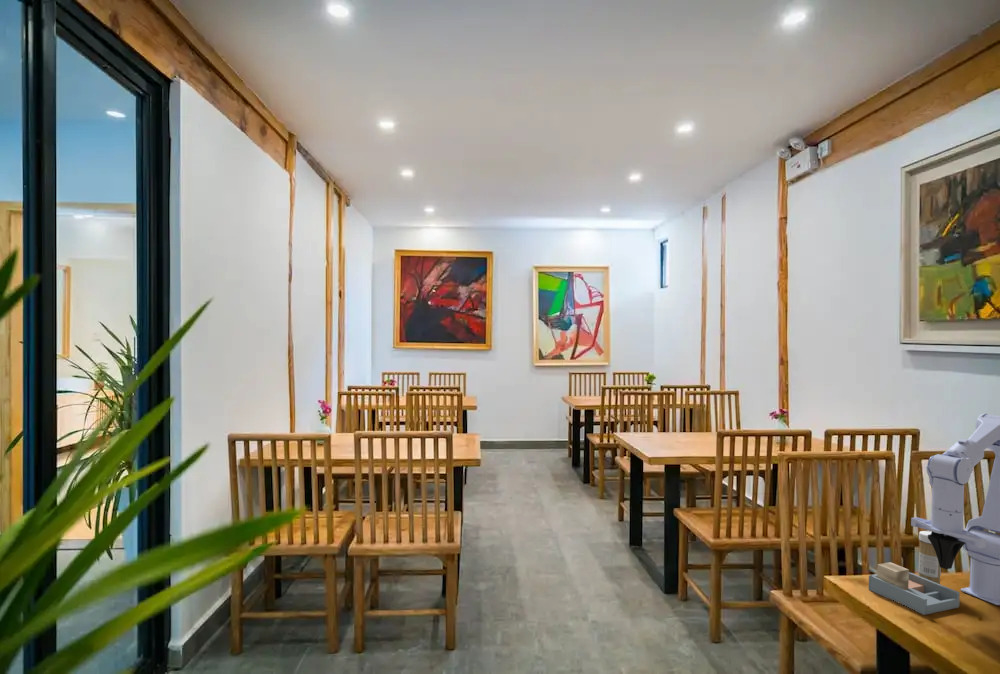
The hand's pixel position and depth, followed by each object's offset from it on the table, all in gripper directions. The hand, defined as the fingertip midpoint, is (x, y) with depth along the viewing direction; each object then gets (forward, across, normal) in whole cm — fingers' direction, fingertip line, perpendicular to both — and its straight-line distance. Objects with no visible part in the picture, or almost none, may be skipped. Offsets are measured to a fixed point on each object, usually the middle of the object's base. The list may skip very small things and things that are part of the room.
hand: (945, 567), depth 128 cm
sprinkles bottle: (+10, -10, +10) cm, 17 cm away
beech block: (+8, -10, -3) cm, 13 cm away
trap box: (+10, -7, -1) cm, 12 cm away
